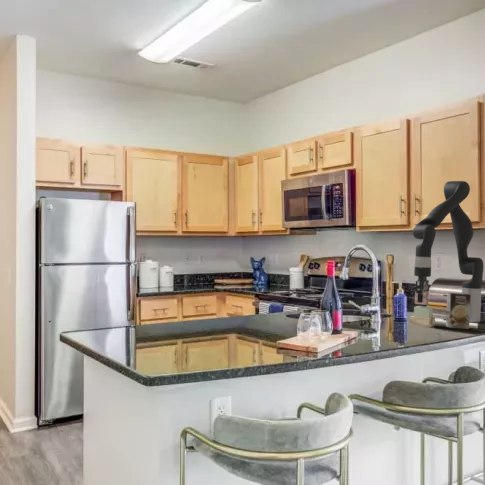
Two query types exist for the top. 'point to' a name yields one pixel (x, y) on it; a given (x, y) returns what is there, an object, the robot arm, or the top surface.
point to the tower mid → (423, 312)
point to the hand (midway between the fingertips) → (421, 301)
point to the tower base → (422, 321)
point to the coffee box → (458, 310)
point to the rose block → (425, 298)
